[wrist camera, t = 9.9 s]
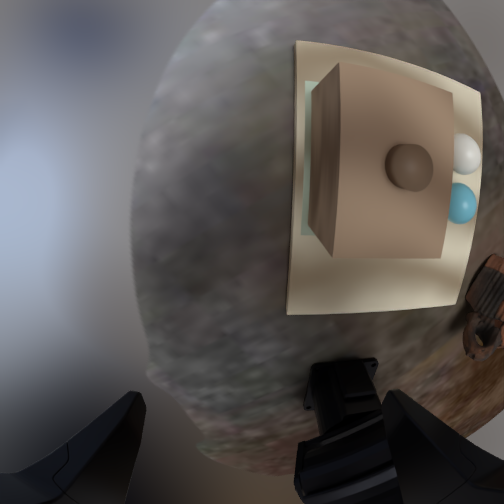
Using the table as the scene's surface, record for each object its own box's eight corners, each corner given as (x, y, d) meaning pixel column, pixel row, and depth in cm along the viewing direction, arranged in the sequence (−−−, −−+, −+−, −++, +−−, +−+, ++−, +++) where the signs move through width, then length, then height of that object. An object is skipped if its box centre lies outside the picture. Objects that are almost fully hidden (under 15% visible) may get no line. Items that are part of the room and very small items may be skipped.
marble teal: (457, 219, 17) (480, 230, 14) (430, 217, 17) (453, 228, 14) (461, 182, 16) (486, 189, 13) (434, 177, 16) (459, 182, 13)
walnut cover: (392, 227, 17) (451, 265, 11) (307, 224, 17) (338, 267, 11) (398, 105, 15) (464, 90, 8) (311, 91, 15) (346, 54, 8)
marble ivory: (462, 175, 16) (487, 180, 13) (435, 169, 16) (460, 173, 13) (463, 138, 15) (488, 139, 12) (436, 129, 15) (461, 128, 12)
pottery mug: (503, 228, 19) (557, 271, 13) (485, 277, 25) (527, 313, 19) (446, 312, 18) (508, 371, 12) (432, 347, 25) (476, 392, 19)
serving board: (449, 299, 21) (455, 304, 20) (285, 307, 21) (287, 315, 20) (472, 93, 14) (480, 92, 13) (294, 45, 14) (296, 40, 13)
